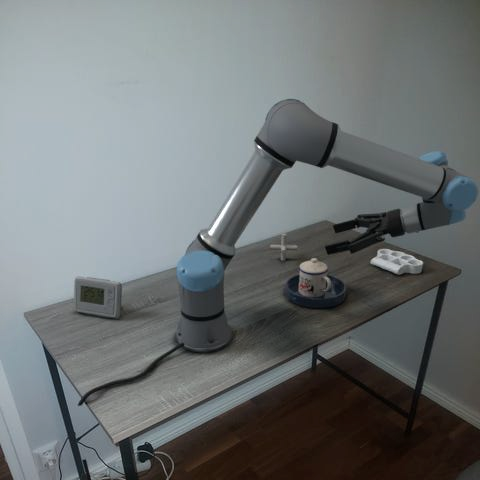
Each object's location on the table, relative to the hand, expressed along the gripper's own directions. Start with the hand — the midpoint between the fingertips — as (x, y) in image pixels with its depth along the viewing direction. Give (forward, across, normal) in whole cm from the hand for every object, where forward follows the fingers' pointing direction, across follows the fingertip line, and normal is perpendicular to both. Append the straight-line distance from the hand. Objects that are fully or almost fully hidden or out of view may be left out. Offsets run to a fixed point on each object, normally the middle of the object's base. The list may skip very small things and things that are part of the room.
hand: (330, 239), depth 135 cm
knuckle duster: (-10, +28, -30) cm, 42 cm away
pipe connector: (+27, +22, -13) cm, 37 cm away
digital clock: (+64, -34, +10) cm, 73 cm away
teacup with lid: (+10, -3, -16) cm, 19 cm away
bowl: (+10, -3, -16) cm, 19 cm away
